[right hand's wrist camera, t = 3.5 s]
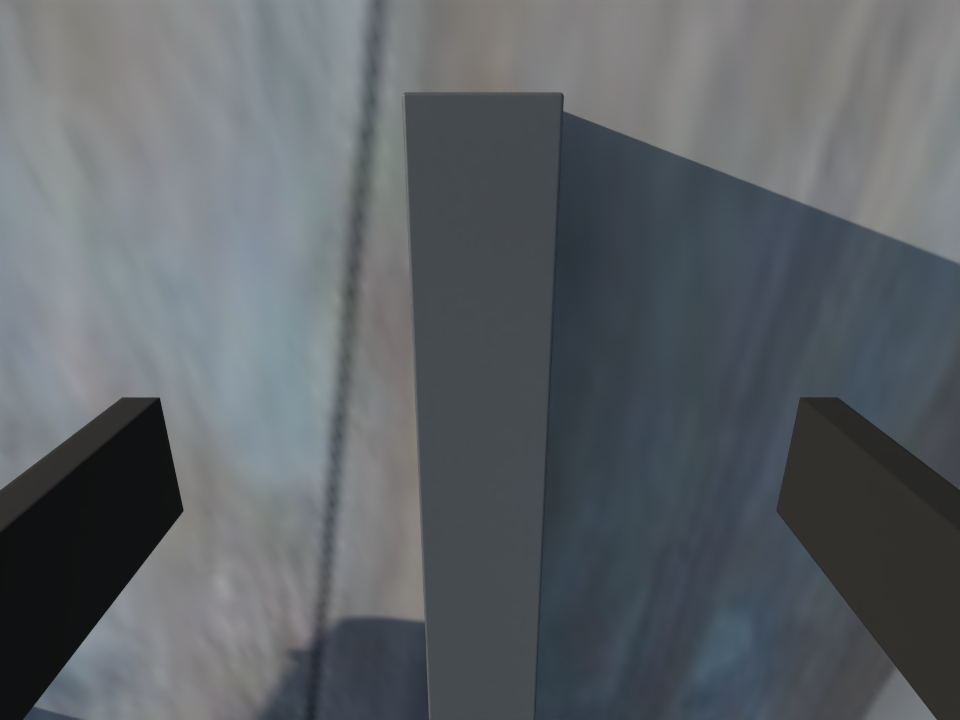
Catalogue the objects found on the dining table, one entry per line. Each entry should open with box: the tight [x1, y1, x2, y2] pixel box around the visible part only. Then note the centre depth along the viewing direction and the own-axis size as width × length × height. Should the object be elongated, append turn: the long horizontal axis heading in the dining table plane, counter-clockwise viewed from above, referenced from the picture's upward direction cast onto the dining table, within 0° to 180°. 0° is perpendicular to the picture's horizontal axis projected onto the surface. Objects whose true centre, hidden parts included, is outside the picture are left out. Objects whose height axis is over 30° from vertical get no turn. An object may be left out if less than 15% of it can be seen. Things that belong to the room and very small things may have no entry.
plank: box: [402, 93, 564, 720], centre depth 30 cm, size 54×4×7 cm, turn 0°
